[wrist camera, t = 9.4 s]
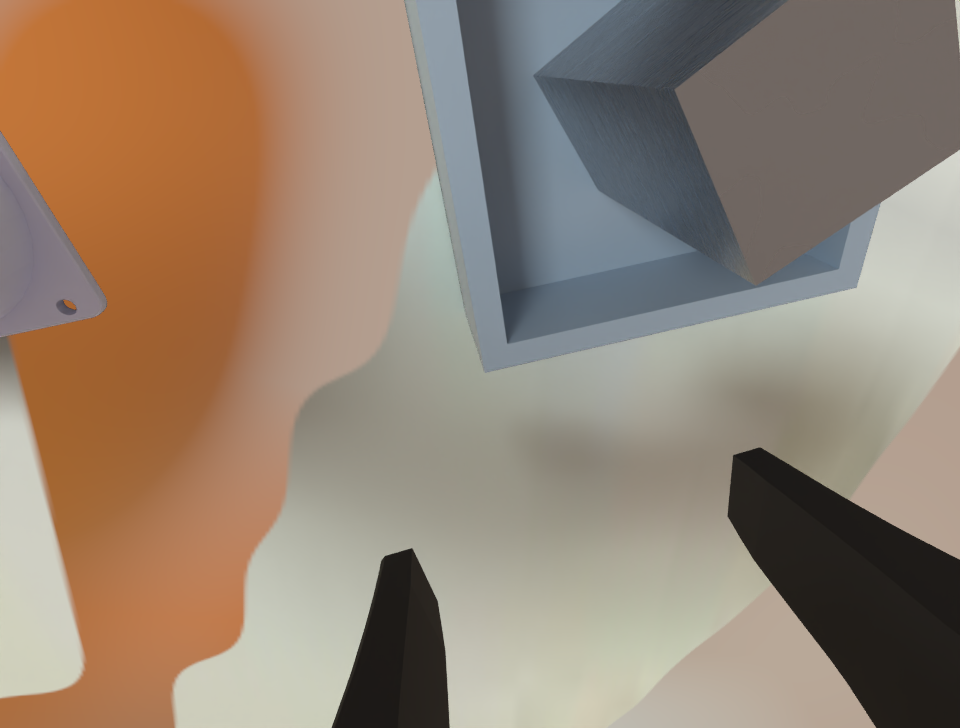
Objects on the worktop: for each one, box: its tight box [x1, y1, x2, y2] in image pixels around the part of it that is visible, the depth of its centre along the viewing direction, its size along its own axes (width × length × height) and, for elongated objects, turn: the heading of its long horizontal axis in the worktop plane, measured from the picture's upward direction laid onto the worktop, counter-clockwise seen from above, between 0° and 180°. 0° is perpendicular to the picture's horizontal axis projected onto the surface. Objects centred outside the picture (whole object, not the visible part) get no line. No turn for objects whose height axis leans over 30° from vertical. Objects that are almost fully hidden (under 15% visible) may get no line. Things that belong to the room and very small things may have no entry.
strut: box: [533, 0, 960, 286], centre depth 11 cm, size 4×4×8 cm
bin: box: [404, 0, 880, 373], centre depth 13 cm, size 12×12×4 cm
